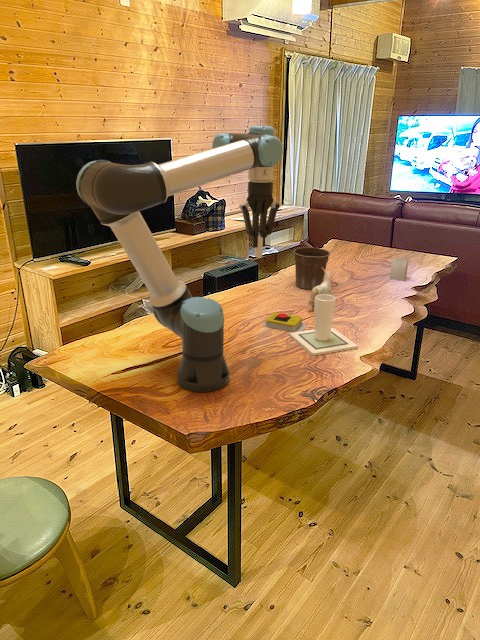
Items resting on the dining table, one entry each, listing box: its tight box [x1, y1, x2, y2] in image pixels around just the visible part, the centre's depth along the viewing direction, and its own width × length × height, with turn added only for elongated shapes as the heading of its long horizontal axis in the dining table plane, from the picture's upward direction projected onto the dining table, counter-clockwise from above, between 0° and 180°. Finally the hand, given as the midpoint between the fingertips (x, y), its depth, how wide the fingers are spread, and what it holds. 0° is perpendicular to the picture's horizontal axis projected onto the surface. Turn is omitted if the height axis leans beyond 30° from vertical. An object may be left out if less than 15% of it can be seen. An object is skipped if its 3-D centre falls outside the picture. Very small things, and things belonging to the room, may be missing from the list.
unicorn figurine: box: [307, 267, 334, 308], centre depth 197 cm, size 7×20×13 cm, turn 156°
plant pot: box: [293, 246, 331, 291], centre depth 220 cm, size 16×16×16 cm
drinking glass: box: [313, 293, 336, 341], centre depth 164 cm, size 7×7×15 cm
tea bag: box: [389, 257, 409, 282], centre depth 233 cm, size 4×7×10 cm, turn 57°
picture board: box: [288, 326, 359, 357], centre depth 167 cm, size 17×17×1 cm
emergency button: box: [262, 311, 308, 333], centre depth 179 cm, size 9×4×15 cm
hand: (258, 256), depth 156 cm, fingers closed
